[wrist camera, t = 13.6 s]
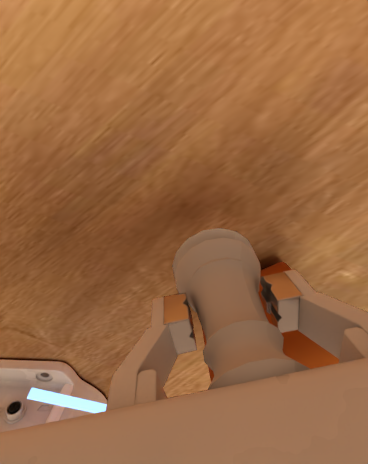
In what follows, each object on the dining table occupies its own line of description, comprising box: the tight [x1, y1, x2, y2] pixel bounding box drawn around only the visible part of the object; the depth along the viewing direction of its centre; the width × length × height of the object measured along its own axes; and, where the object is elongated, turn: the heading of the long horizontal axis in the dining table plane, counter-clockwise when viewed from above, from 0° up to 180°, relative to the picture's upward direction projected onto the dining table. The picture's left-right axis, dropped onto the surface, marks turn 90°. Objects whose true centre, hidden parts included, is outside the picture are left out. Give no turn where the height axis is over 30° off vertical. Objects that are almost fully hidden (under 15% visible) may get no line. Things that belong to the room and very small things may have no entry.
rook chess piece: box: [172, 228, 310, 390], centre depth 10 cm, size 4×4×8 cm
